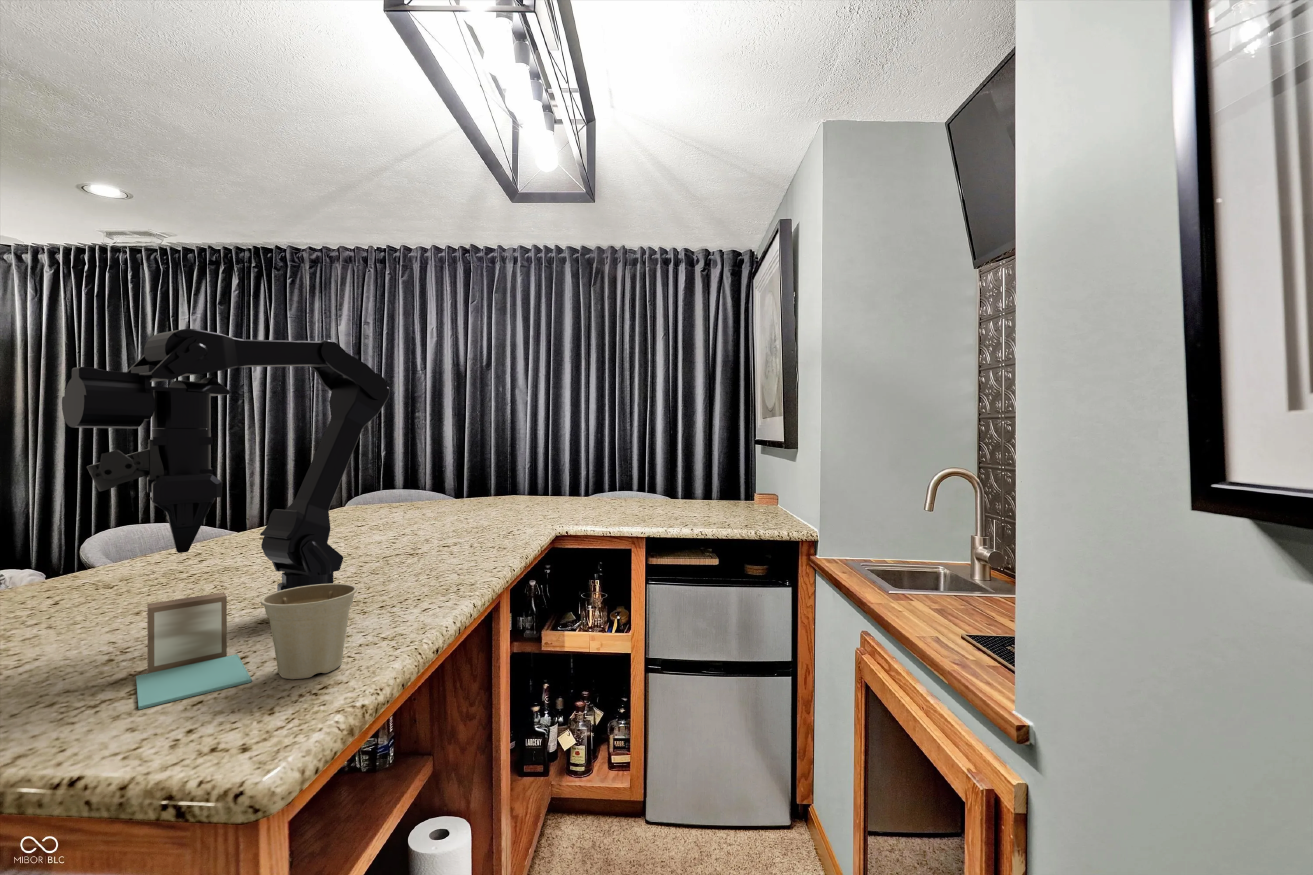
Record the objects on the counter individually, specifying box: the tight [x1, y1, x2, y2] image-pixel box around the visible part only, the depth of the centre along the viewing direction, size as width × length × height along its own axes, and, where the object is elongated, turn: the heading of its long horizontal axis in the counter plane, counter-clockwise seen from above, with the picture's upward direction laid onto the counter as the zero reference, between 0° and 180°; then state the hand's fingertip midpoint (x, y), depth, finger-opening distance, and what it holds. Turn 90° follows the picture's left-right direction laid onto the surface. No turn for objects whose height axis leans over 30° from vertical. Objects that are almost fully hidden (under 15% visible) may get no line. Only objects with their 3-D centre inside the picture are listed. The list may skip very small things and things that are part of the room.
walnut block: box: [146, 591, 228, 674], centre depth 66 cm, size 7×2×8 cm, turn 134°
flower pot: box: [260, 582, 358, 680], centre depth 64 cm, size 9×9×9 cm
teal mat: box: [135, 653, 252, 710], centre depth 61 cm, size 9×10×1 cm
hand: (182, 551), depth 72 cm, fingers closed
